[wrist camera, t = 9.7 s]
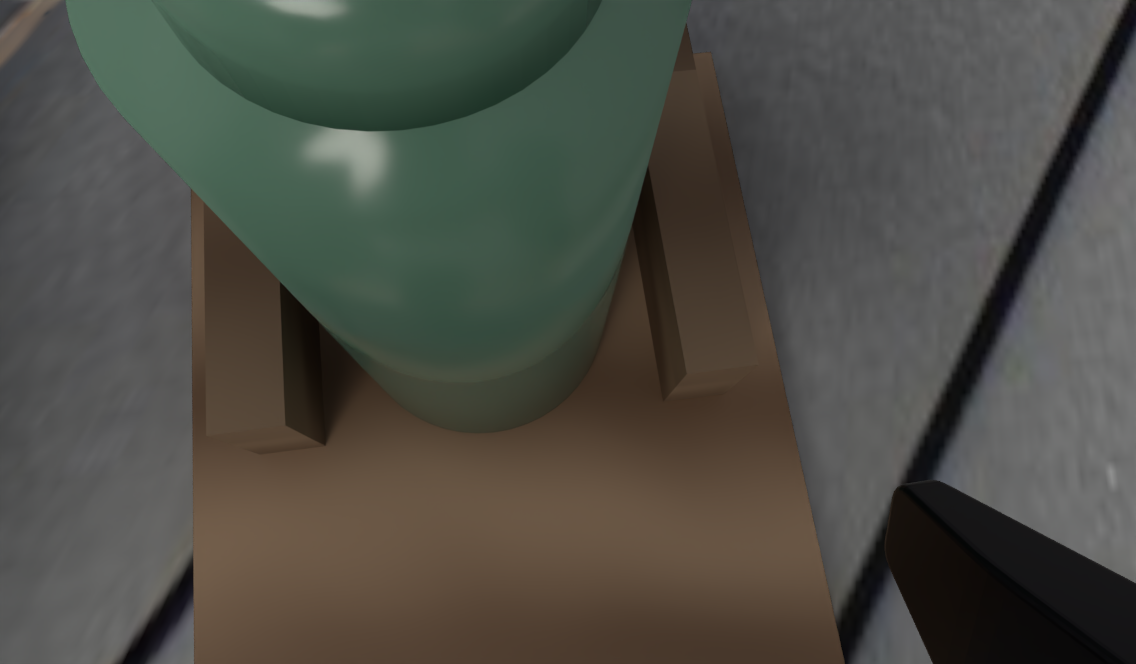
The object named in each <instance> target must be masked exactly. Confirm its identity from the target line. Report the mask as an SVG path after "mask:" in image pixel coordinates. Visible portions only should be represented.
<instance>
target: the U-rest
mask: <svg viewBox="0 0 1136 664" xmlns="http://www.w3.org/2000/svg"><path fill="white" fill-rule="evenodd" d="M191 258H192V409H193V559H194V664H845V662H844V658H843V653H842V648H841V644H840V639H839V635H838V630H837V626H836V621H835V617H834V612H833V607H832V603H831V598H830V594H829V589H828V585H827V580H826V575H825V571H824V566H823V562H822V557H821V553H820V548H819V543H818V539H817V534H816V530H815V525H814V521H813V516H812V512H811V507H810V502H809V498H808V493H807V489H806V484H805V480H804V475H803V470H802V466H801V461H800V457H799V452H798V448H797V443H796V438H795V434H794V429H793V425H792V420H791V416H790V411H789V406H788V402H787V397H786V393H785V388H784V384H783V379H782V375H781V370H780V365H779V361H778V356H777V352H776V347H775V343H774V338H773V333H772V329H771V324H770V320H769V315H768V311H767V306H766V301H765V297H764V292H763V288H762V283H761V279H760V274H759V270H758V265H757V260H756V256H755V251H754V247H753V242H752V238H751V233H750V228H749V224H748V219H747V215H746V210H745V206H744V201H743V196H742V192H741V187H740V183H739V178H738V174H737V169H736V164H735V160H734V155H733V151H732V146H731V142H730V137H729V133H728V128H727V123H726V119H725V114H724V110H723V105H722V101H721V96H720V91H719V87H718V82H717V78H716V73H715V69H714V64H713V59H712V55H711V52H705V53H695V54H693V52H692V47H691V43H690V38H689V33H688V28H687V24H686V25H685V28H684V32H683V36H682V40H681V43H680V47H679V51H678V54H677V58H676V62H675V66H674V69H673V73H672V77H671V81H670V84H669V88H668V92H667V96H666V99H665V103H664V107H663V110H662V114H661V118H660V122H659V125H658V129H657V133H656V137H655V140H654V144H653V148H652V152H651V155H650V159H649V163H648V167H647V170H646V174H645V178H644V181H643V185H642V189H641V193H640V196H639V200H638V204H637V208H636V211H635V215H634V219H633V223H632V226H631V230H630V234H629V237H628V241H627V245H626V249H625V252H624V256H623V260H622V264H621V267H620V271H619V275H618V279H617V282H616V286H615V290H614V294H613V297H612V301H611V305H610V308H609V312H608V316H607V320H606V323H605V327H604V331H603V335H602V338H601V342H600V345H599V348H598V351H597V354H596V357H595V359H594V361H593V363H592V365H591V367H590V369H589V371H588V373H587V374H586V376H585V377H584V379H583V380H582V382H581V383H580V385H579V386H578V387H577V388H576V389H575V390H574V392H573V393H572V394H571V395H570V396H569V397H568V398H567V399H566V400H565V401H563V402H562V403H561V404H560V405H559V406H558V407H556V408H555V409H554V410H552V411H550V412H549V413H547V414H546V415H544V416H543V417H541V418H539V419H537V420H535V421H532V422H530V423H528V424H526V425H523V426H520V427H517V428H514V429H511V430H505V431H500V432H495V433H464V432H457V431H452V430H448V429H443V428H441V427H438V426H435V425H432V424H429V423H427V422H425V421H423V420H421V419H419V418H417V417H415V416H414V415H412V414H411V413H409V412H408V411H406V410H405V409H404V408H402V407H401V406H400V405H399V404H397V403H396V402H395V401H394V400H393V399H392V398H391V397H390V396H389V395H388V394H387V393H386V392H385V391H384V390H383V389H382V388H381V387H380V386H379V385H378V384H377V383H376V382H375V380H374V379H373V378H372V377H371V376H370V375H369V374H368V373H367V372H366V371H365V370H364V369H363V368H362V367H361V366H360V365H359V364H358V363H357V362H356V361H355V360H354V358H353V357H352V356H351V355H350V354H349V353H348V352H347V351H346V350H345V349H344V348H343V347H342V346H341V345H340V344H339V343H338V342H337V341H336V340H335V339H334V338H333V336H332V335H331V334H330V333H329V332H328V331H327V330H326V329H325V328H324V327H323V326H322V325H321V324H320V323H319V322H318V321H317V320H316V319H315V318H314V317H313V316H312V314H311V313H310V312H309V311H308V310H307V309H306V308H305V307H304V306H303V305H302V304H301V303H300V302H299V301H298V300H297V299H296V298H295V297H294V296H293V295H292V294H291V292H290V291H289V290H288V289H287V288H286V287H285V286H284V285H283V284H282V283H281V282H280V281H279V280H278V279H277V278H276V277H275V276H274V275H273V274H272V273H271V272H270V270H269V269H268V268H267V267H266V266H265V265H264V264H263V263H262V262H261V261H260V260H259V259H258V258H257V257H256V256H255V255H254V254H253V253H252V252H251V251H250V250H249V248H248V247H247V246H246V245H245V244H244V243H243V242H242V241H241V240H240V239H239V238H238V237H237V236H236V235H235V234H234V233H233V232H232V231H231V230H230V229H229V228H228V227H227V225H226V224H225V223H224V222H223V221H222V220H221V219H220V218H219V217H218V216H217V215H216V214H215V213H214V212H213V211H212V210H211V209H210V208H209V207H208V206H207V205H206V203H205V202H204V201H203V200H202V199H201V198H200V197H199V196H198V195H197V194H196V193H195V192H194V191H193V190H192V189H191Z"/></svg>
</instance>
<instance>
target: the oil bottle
mask: <svg viewBox="0 0 1136 664" xmlns="http://www.w3.org/2000/svg"><path fill="white" fill-rule="evenodd" d="M65 1H66V7H67V12H68V17H69V23H70V25H71V28H72V31H73V33H74V36H75V39H76V42H77V44H78V47H79V50H80V53H81V55H82V57H83V59H84V61H85V63H86V64H87V66H88V68H89V70H90V71H91V73H92V75H93V77H94V78H95V80H96V82H97V84H98V85H99V87H100V89H101V90H102V91H103V93H104V94H105V95H106V96H107V97H108V99H109V100H110V101H111V102H112V104H113V105H114V106H115V107H116V109H117V110H118V111H119V112H120V114H121V115H122V116H123V117H124V119H125V120H126V121H127V122H128V123H129V124H130V125H131V126H132V127H133V128H134V129H135V130H136V131H137V132H138V133H139V134H140V135H141V136H142V137H143V139H144V140H145V141H146V142H147V143H148V144H149V145H150V146H151V147H152V148H153V149H154V150H155V151H156V152H157V153H158V154H159V155H160V156H161V157H162V158H163V159H164V161H165V162H166V163H167V164H168V165H169V166H170V167H171V168H172V169H173V170H174V171H175V172H176V173H177V174H178V175H179V176H180V177H181V178H182V179H183V180H184V181H185V183H186V184H187V185H188V186H189V187H190V188H191V189H192V190H193V191H194V192H195V193H196V194H197V195H198V196H199V197H200V198H201V199H202V200H203V201H204V202H205V203H206V205H207V206H208V207H209V208H210V209H211V210H212V211H213V212H214V213H215V214H216V215H217V216H218V217H219V218H220V219H221V220H222V221H223V222H224V223H225V224H226V225H227V227H228V228H229V229H230V230H231V231H232V232H233V233H234V234H235V235H236V236H237V237H238V238H239V239H240V240H241V241H242V242H243V243H244V244H245V245H246V246H247V247H248V248H249V250H250V251H251V252H252V253H253V254H254V255H255V256H256V257H257V258H258V259H259V260H260V261H261V262H262V263H263V264H264V265H265V266H266V267H267V268H268V269H269V270H270V272H271V273H272V274H273V275H274V276H275V277H276V278H277V279H278V280H279V281H280V282H281V283H282V284H283V285H284V286H285V287H286V288H287V289H288V290H289V291H290V292H291V294H292V295H293V296H294V297H295V298H296V299H297V300H298V301H299V302H300V303H301V304H302V305H303V306H304V307H305V308H306V309H307V310H308V311H309V312H310V313H311V314H312V316H313V317H314V318H315V319H316V320H317V321H318V322H319V323H320V324H321V325H322V326H323V327H324V328H325V329H326V330H327V331H328V332H329V333H330V334H331V335H332V336H333V338H334V339H335V340H336V341H337V342H338V343H339V344H340V345H341V346H342V347H343V348H344V349H345V350H346V351H347V352H348V353H349V354H350V355H351V356H352V357H353V358H354V360H355V361H356V362H357V363H358V364H359V365H360V366H361V367H362V368H363V369H364V370H365V371H366V372H367V373H368V374H369V375H370V376H371V377H372V378H373V379H374V380H375V382H376V383H377V384H378V385H379V386H380V387H381V388H382V389H383V390H384V391H385V392H386V393H387V394H388V395H389V396H390V397H391V398H392V399H393V400H394V401H395V402H396V403H397V404H399V405H400V406H401V407H402V408H404V409H405V410H406V411H408V412H409V413H411V414H412V415H414V416H415V417H417V418H419V419H421V420H423V421H425V422H427V423H429V424H432V425H435V426H438V427H441V428H443V429H448V430H452V431H457V432H464V433H495V432H500V431H505V430H511V429H514V428H517V427H520V426H523V425H526V424H528V423H530V422H532V421H535V420H537V419H539V418H541V417H543V416H544V415H546V414H547V413H549V412H550V411H552V410H554V409H555V408H556V407H558V406H559V405H560V404H561V403H562V402H563V401H565V400H566V399H567V398H568V397H569V396H570V395H571V394H572V393H573V392H574V390H575V389H576V388H577V387H578V386H579V385H580V383H581V382H582V380H583V379H584V377H585V376H586V374H587V373H588V371H589V369H590V367H591V365H592V363H593V361H594V359H595V357H596V354H597V351H598V348H599V345H600V342H601V338H602V335H603V331H604V327H605V323H606V320H607V316H608V312H609V308H610V305H611V301H612V297H613V294H614V290H615V286H616V282H617V279H618V275H619V271H620V267H621V264H622V260H623V256H624V252H625V249H626V245H627V241H628V237H629V234H630V230H631V226H632V223H633V219H634V215H635V211H636V208H637V204H638V200H639V196H640V193H641V189H642V185H643V181H644V178H645V174H646V170H647V167H648V163H649V159H650V155H651V152H652V148H653V144H654V140H655V137H656V133H657V129H658V125H659V122H660V118H661V114H662V110H663V107H664V103H665V99H666V96H667V92H668V88H669V84H670V81H671V77H672V73H673V69H674V66H675V62H676V58H677V54H678V51H679V47H680V43H681V40H682V36H683V32H684V28H685V25H686V21H687V17H688V13H689V10H690V6H691V1H692V0H65Z"/></svg>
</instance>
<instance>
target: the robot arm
mask: <svg viewBox="0 0 1136 664" xmlns="http://www.w3.org/2000/svg"><path fill="white" fill-rule="evenodd" d="M885 554H886V559H887V562H888V565H889V568H890V570H891V572H892V574H893V577H894V579H895V581H896V583H897V585H898V588H899V590H900V592H901V594H902V596H903V599H904V601H905V603H906V605H907V607H908V610H909V612H910V614H911V616H912V618H913V621H914V623H915V625H916V627H917V629H918V632H919V634H920V636H921V638H922V640H923V643H924V645H925V647H926V649H927V651H928V654H929V656H930V658H931V660H932V662H933V664H1136V583H1134V582H1132V581H1130V580H1129V579H1127V578H1125V577H1123V576H1121V575H1119V574H1117V573H1115V572H1113V571H1111V570H1109V569H1108V568H1106V567H1104V566H1102V565H1100V564H1098V563H1096V562H1094V561H1092V560H1090V559H1088V558H1087V557H1085V556H1083V555H1081V554H1079V553H1077V552H1075V551H1073V550H1071V549H1069V548H1067V547H1066V546H1064V545H1062V544H1060V543H1058V542H1056V541H1054V540H1052V539H1050V538H1048V537H1046V536H1044V535H1043V534H1041V533H1039V532H1037V531H1035V530H1033V529H1031V528H1029V527H1027V526H1025V525H1023V524H1022V523H1020V522H1018V521H1016V520H1014V519H1012V518H1010V517H1008V516H1006V515H1004V514H1002V513H1001V512H999V511H997V510H995V509H993V508H991V507H989V506H987V505H985V504H983V503H981V502H980V501H978V500H976V499H974V498H972V497H970V496H968V495H966V494H964V493H962V492H960V491H959V490H957V489H955V488H953V487H951V486H949V485H947V484H945V483H943V482H940V481H937V480H927V481H921V482H914V483H908V484H903V485H900V486H898V487H897V488H896V490H895V491H894V493H893V497H892V502H891V508H890V514H889V520H888V526H887V532H886V538H885Z"/></svg>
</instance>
